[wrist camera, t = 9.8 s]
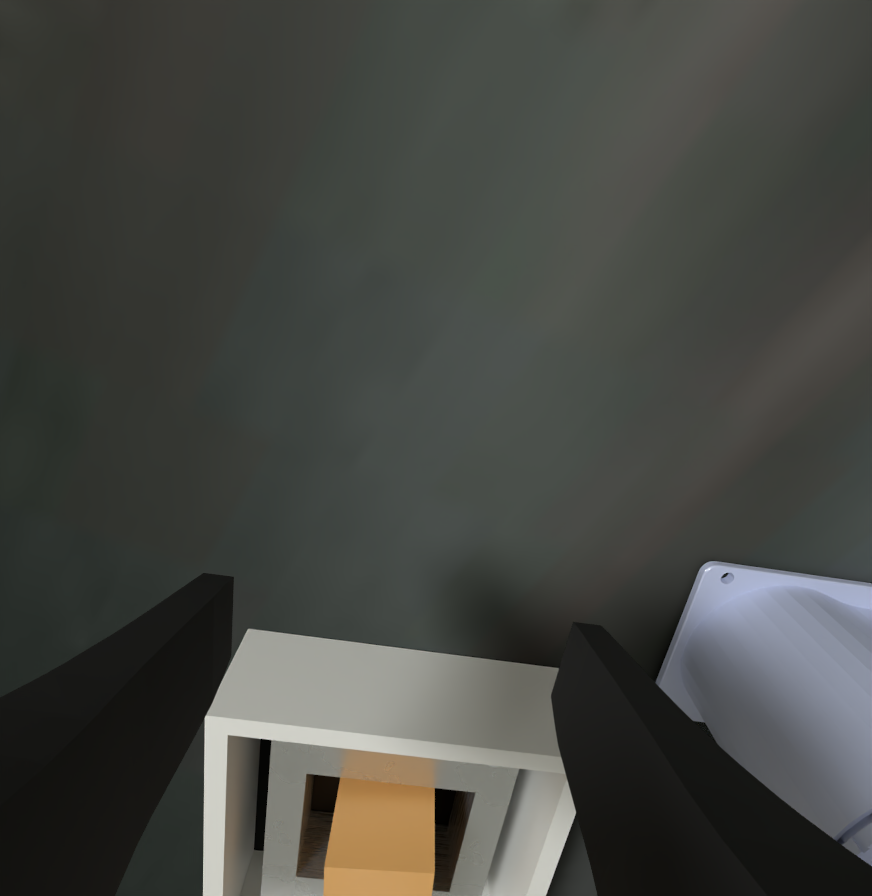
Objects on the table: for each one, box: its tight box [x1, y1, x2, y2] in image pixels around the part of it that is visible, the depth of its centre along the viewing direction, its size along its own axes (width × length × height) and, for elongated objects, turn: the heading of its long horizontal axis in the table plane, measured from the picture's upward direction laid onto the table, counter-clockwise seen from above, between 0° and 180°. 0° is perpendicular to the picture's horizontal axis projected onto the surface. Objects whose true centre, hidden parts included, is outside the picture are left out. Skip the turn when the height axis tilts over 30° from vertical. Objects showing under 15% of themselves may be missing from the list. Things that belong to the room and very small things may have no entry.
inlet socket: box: [261, 740, 519, 896], centre depth 24 cm, size 10×10×3 cm
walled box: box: [203, 629, 576, 896], centre depth 23 cm, size 14×15×4 cm
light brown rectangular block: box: [323, 777, 435, 896], centre depth 23 cm, size 4×5×6 cm
